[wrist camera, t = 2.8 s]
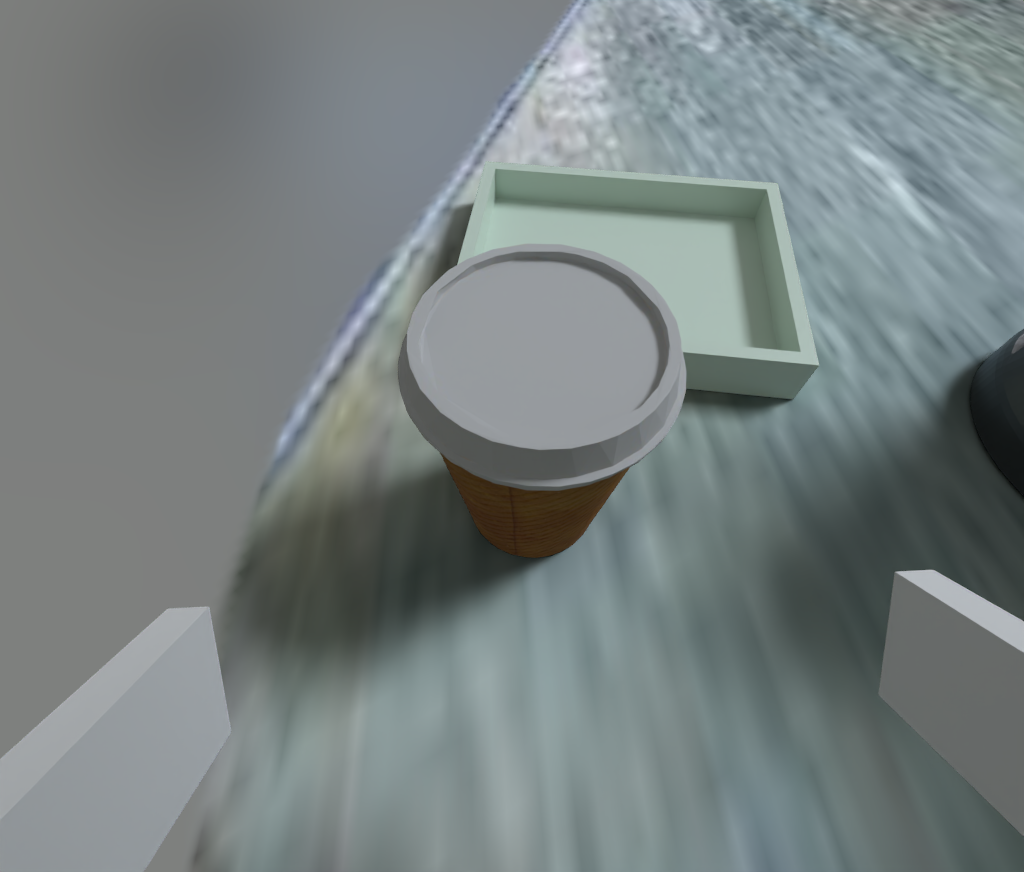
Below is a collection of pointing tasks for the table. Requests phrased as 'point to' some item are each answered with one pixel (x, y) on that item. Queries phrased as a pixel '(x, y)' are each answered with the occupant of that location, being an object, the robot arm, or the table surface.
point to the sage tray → (673, 259)
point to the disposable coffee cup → (541, 386)
